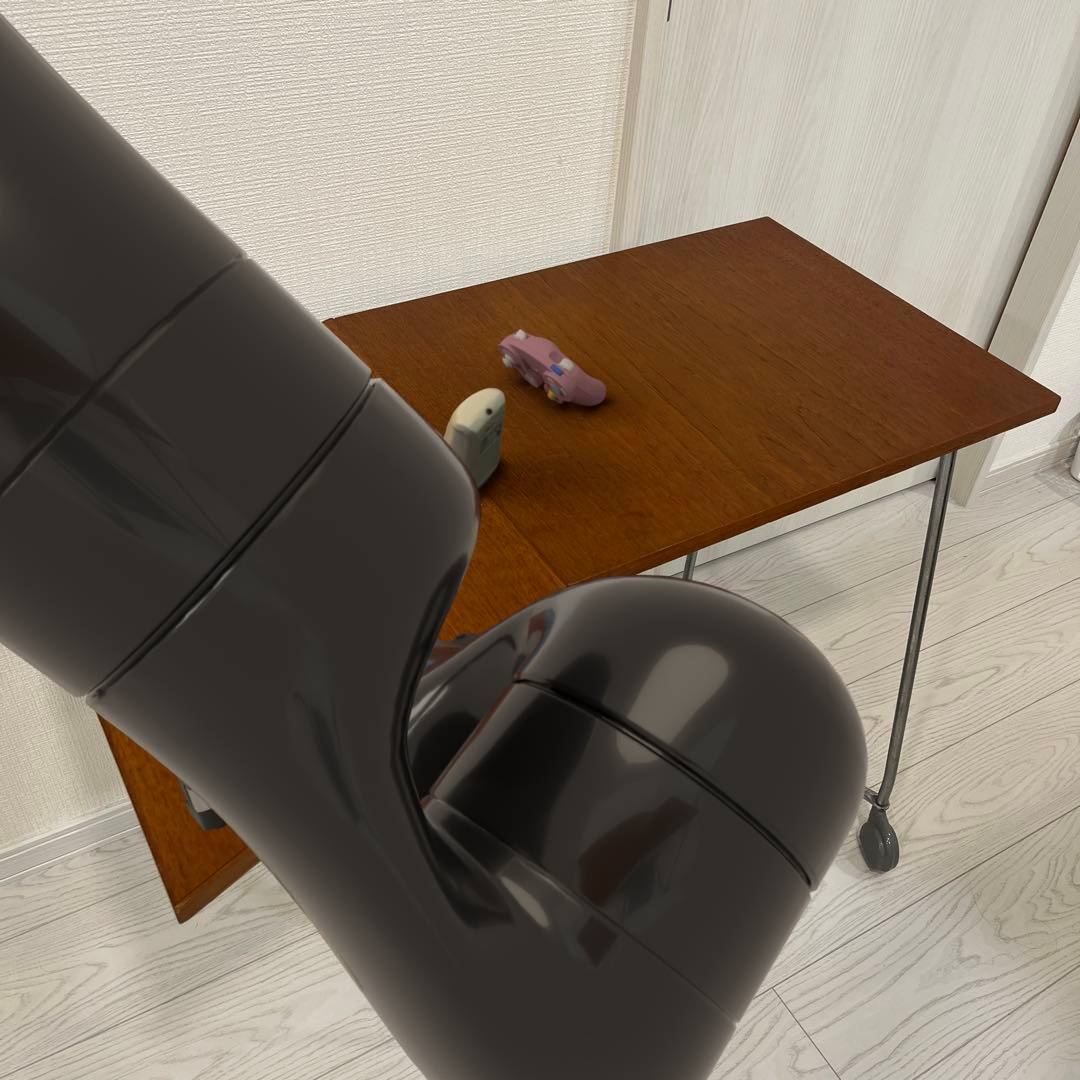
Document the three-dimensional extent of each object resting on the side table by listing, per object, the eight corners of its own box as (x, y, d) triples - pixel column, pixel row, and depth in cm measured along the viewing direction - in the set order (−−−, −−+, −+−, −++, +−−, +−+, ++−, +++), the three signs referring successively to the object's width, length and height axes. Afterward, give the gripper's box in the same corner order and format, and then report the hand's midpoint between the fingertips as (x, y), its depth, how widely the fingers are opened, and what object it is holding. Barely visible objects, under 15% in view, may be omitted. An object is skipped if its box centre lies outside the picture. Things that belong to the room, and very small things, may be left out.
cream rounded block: (508, 503, 82) (509, 424, 77) (444, 505, 82) (440, 427, 76) (503, 458, 86) (504, 380, 81) (442, 460, 86) (438, 382, 80)
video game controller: (508, 383, 97) (482, 339, 91) (540, 350, 97) (516, 304, 91) (580, 432, 91) (558, 389, 86) (613, 396, 92) (594, 351, 86)
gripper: (544, 571, 37) (424, 585, 52) (152, 727, 32) (144, 693, 47) (612, 761, 38) (474, 721, 53) (236, 947, 32) (202, 843, 47)
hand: (319, 708), depth 50 cm, fingers open, 8 cm apart
